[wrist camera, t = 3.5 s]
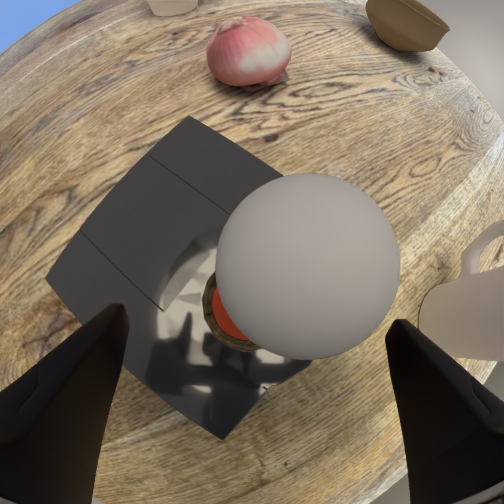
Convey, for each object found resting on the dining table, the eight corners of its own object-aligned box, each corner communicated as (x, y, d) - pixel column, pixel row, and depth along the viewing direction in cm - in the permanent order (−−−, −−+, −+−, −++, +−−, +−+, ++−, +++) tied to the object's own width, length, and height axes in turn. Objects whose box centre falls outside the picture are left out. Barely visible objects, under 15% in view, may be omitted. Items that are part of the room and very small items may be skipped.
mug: (460, 355, 18) (562, 357, 7) (410, 359, 18) (532, 371, 6) (463, 252, 21) (556, 213, 9) (417, 240, 20) (522, 184, 9)
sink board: (236, 434, 16) (238, 450, 13) (62, 283, 17) (44, 278, 15) (365, 258, 20) (381, 251, 17) (191, 133, 21) (188, 114, 18)
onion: (229, 50, 24) (232, -1, 17) (295, 69, 24) (310, 17, 17) (194, 91, 22) (188, 31, 15) (271, 113, 22) (285, 51, 15)
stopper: (253, 352, 17) (365, 497, 2) (199, 310, 18) (49, 276, 2) (294, 298, 18) (499, 224, 3) (241, 257, 19) (284, 50, 3)
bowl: (437, 70, 29) (464, 33, 19) (394, 67, 26) (424, 18, 17) (390, 26, 31) (408, -11, 21) (340, 20, 29) (357, -26, 19)
